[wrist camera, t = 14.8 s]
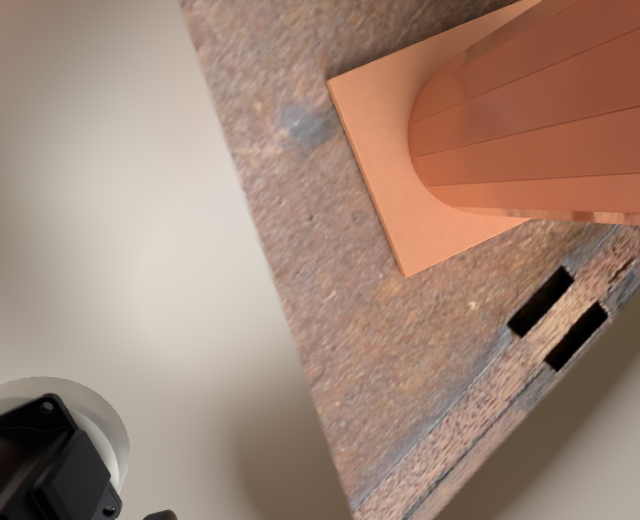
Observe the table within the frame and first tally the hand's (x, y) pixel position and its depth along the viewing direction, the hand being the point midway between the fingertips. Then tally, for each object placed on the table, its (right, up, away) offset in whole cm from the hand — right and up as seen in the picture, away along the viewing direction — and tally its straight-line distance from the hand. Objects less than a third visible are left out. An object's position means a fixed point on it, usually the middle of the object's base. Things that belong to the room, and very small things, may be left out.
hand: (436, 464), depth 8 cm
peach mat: (+5, +9, +13) cm, 16 cm away
